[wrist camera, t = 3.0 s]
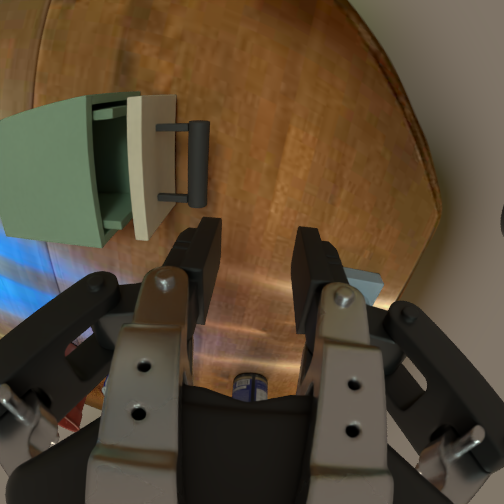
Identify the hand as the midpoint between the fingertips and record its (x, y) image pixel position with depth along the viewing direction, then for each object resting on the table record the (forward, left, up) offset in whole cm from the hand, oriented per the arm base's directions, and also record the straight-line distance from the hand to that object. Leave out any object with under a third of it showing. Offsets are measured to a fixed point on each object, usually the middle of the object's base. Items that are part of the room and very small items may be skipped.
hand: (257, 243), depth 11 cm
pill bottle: (+20, +32, -17) cm, 42 cm away
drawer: (+11, -8, -16) cm, 21 cm away
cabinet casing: (+16, -12, -17) cm, 26 cm away
